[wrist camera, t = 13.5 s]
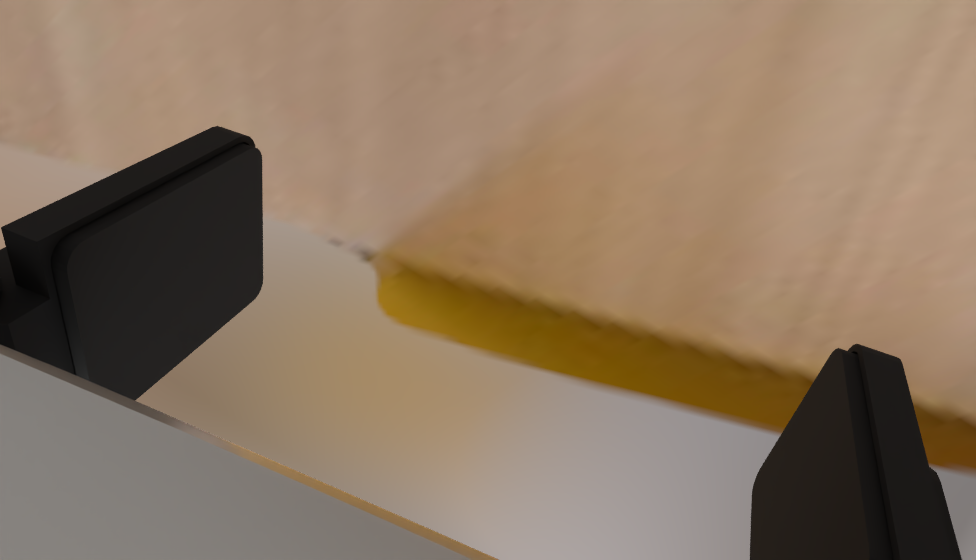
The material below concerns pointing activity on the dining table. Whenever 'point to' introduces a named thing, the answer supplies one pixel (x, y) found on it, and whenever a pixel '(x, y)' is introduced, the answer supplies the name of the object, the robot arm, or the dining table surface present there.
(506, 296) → the dining table surface
